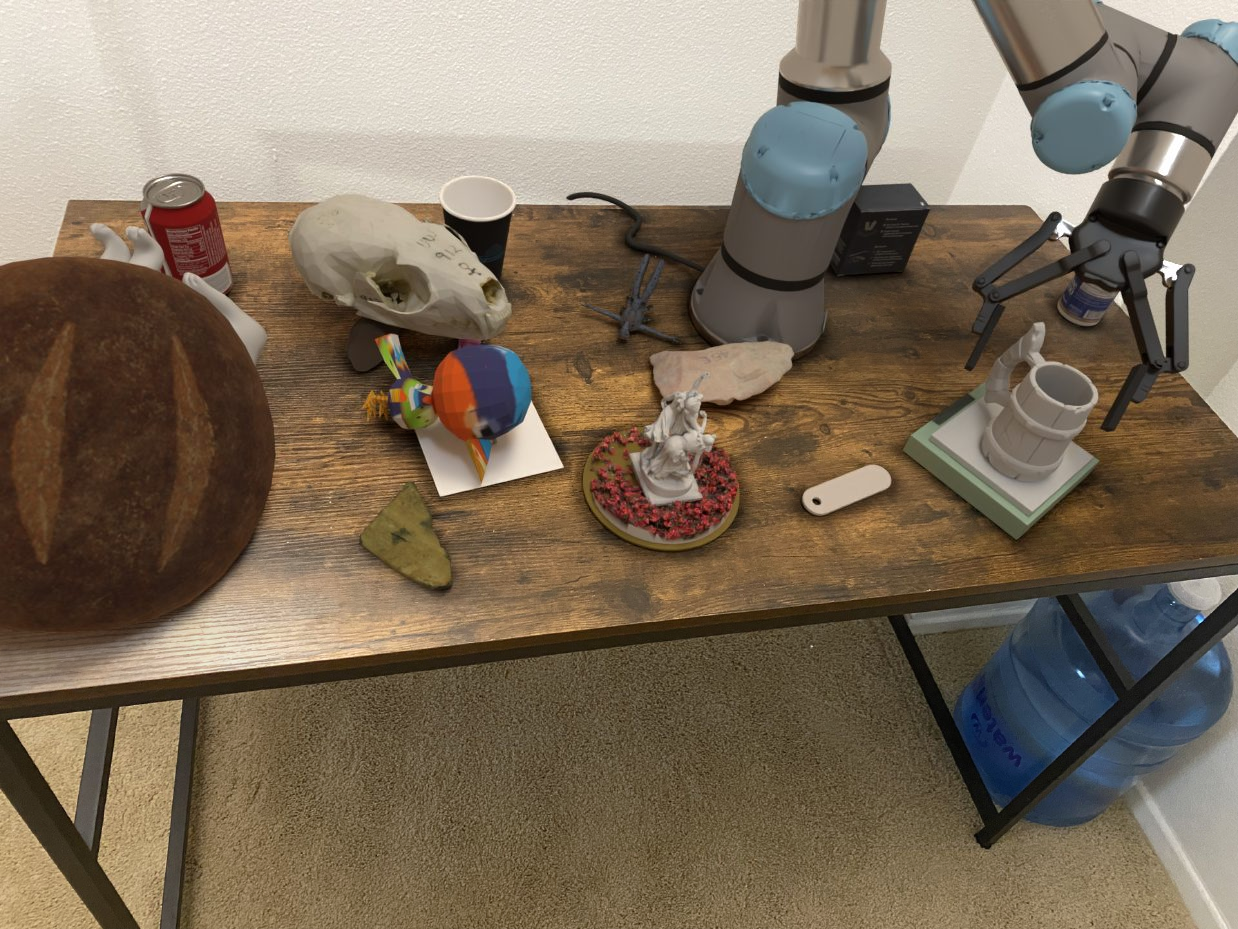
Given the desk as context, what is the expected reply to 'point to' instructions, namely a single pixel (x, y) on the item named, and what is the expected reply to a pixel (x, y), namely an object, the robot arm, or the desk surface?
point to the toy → (458, 395)
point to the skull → (397, 268)
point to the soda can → (186, 229)
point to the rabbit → (153, 257)
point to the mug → (1034, 410)
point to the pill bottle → (1084, 302)
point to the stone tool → (723, 370)
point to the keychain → (846, 489)
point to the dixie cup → (480, 216)
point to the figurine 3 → (664, 480)
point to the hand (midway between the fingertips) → (1036, 399)
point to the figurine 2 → (637, 303)
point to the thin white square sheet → (508, 459)
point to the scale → (990, 466)
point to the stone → (409, 541)
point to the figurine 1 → (368, 340)
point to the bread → (121, 444)
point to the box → (880, 230)
